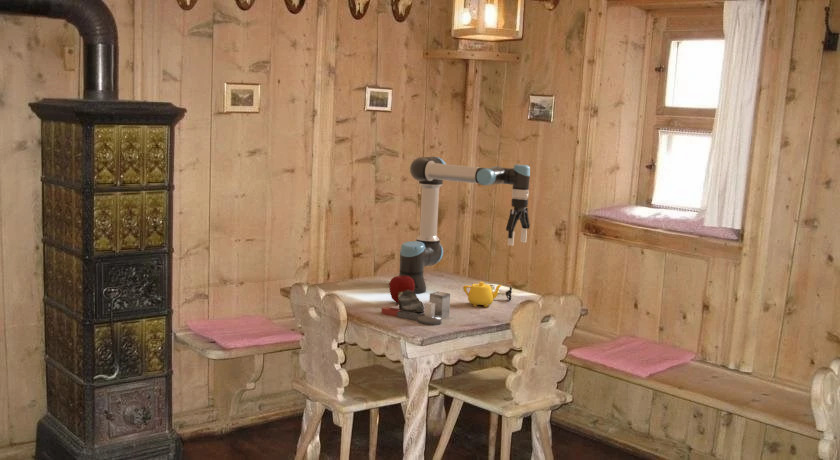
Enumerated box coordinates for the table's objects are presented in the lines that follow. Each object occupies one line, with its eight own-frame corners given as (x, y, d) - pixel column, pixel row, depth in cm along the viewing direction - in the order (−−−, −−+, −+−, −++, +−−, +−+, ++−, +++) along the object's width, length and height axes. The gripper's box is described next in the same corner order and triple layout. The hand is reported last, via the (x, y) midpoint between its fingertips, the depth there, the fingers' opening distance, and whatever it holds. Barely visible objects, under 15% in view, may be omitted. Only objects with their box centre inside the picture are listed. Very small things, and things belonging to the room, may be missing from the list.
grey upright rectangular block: (428, 316, 361) (429, 293, 360) (436, 314, 366) (437, 291, 365) (441, 319, 358) (442, 296, 356) (449, 316, 363) (450, 293, 362)
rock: (398, 307, 376) (396, 287, 372) (422, 305, 376) (421, 284, 373) (400, 322, 362) (398, 301, 359) (426, 319, 363) (424, 298, 360)
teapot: (500, 303, 393) (502, 281, 392) (501, 309, 382) (503, 285, 381) (462, 301, 394) (463, 278, 392) (462, 306, 383) (463, 283, 381)
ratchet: (377, 314, 360) (378, 296, 358) (390, 310, 368) (391, 292, 367) (433, 326, 345) (434, 307, 344) (445, 322, 353) (446, 303, 352)
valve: (485, 300, 399) (510, 302, 398) (485, 286, 398) (511, 288, 397) (486, 297, 406) (511, 299, 404) (487, 283, 405) (512, 285, 403)
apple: (402, 299, 392) (403, 270, 390) (419, 303, 384) (421, 275, 382) (382, 302, 384) (384, 273, 382) (400, 307, 376) (401, 277, 374)
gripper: (515, 200, 378) (512, 247, 381) (538, 197, 399) (535, 241, 402) (500, 199, 382) (497, 245, 385) (524, 196, 403) (521, 240, 406)
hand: (516, 243), depth 393 cm, fingers open, 13 cm apart
